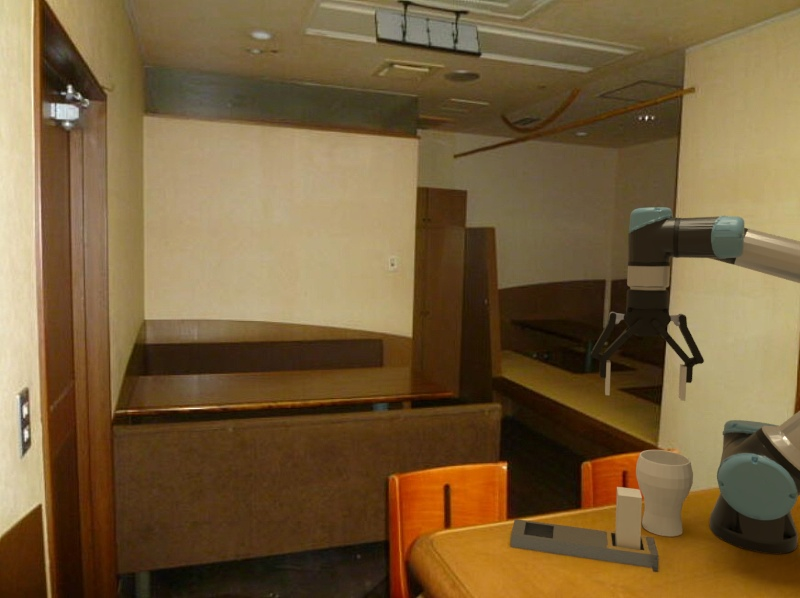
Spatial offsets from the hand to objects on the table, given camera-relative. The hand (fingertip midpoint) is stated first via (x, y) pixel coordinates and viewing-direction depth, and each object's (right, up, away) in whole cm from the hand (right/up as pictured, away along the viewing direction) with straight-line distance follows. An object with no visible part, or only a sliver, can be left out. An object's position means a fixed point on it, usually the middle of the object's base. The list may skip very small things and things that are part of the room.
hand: (643, 396), depth 114 cm
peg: (-6, -29, -6) cm, 30 cm away
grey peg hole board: (-13, -29, -3) cm, 32 cm away
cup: (+6, -29, +6) cm, 30 cm away
